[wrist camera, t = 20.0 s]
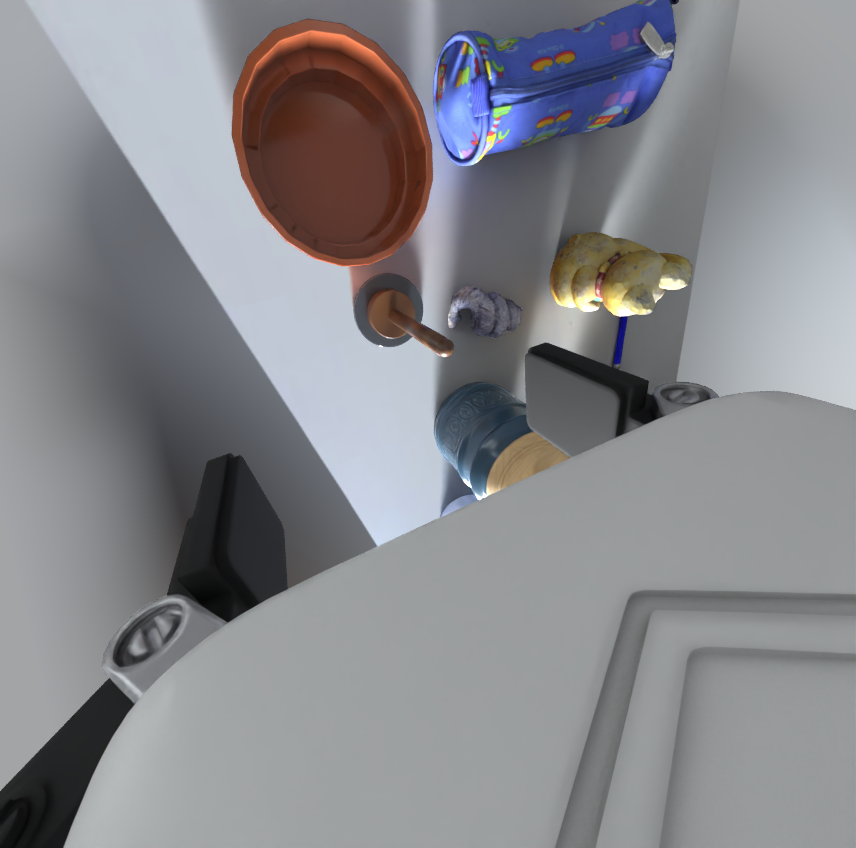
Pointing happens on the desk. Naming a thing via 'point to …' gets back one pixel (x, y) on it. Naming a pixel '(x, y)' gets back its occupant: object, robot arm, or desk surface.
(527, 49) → the pencil case
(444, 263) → the desk surface
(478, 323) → the seashell
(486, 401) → the canister
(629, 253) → the decorative figurine
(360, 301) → the grey round base
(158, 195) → the desk surface
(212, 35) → the desk surface
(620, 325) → the pencil
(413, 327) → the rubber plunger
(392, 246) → the mixing bowl
